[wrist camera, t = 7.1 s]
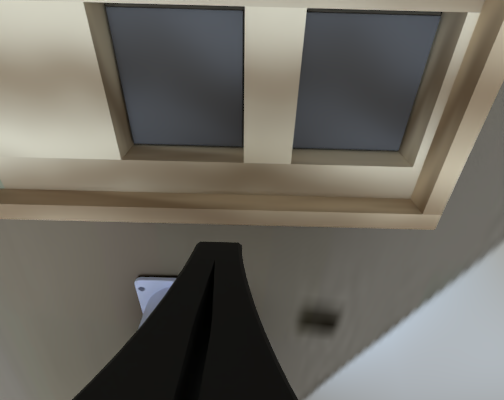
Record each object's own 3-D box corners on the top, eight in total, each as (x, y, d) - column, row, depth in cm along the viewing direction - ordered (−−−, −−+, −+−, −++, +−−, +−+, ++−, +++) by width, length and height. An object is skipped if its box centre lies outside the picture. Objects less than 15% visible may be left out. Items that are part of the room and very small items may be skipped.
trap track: (407, 195, 19) (434, 229, 16) (-93, 182, 19) (-154, 215, 16) (507, -77, 12) (586, -100, 9) (-290, -99, 12) (-463, -129, 9)
